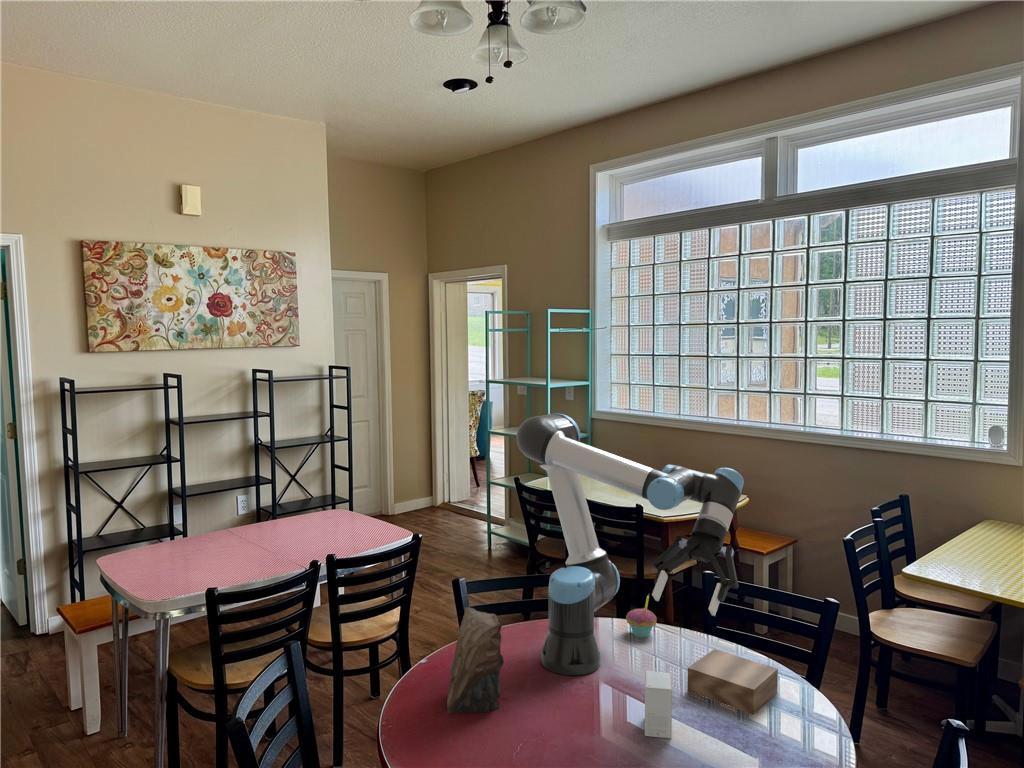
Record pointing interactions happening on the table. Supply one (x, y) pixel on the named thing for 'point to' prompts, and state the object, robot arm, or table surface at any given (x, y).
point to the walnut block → (733, 680)
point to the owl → (476, 665)
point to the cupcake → (641, 620)
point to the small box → (658, 704)
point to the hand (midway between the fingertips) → (682, 605)
